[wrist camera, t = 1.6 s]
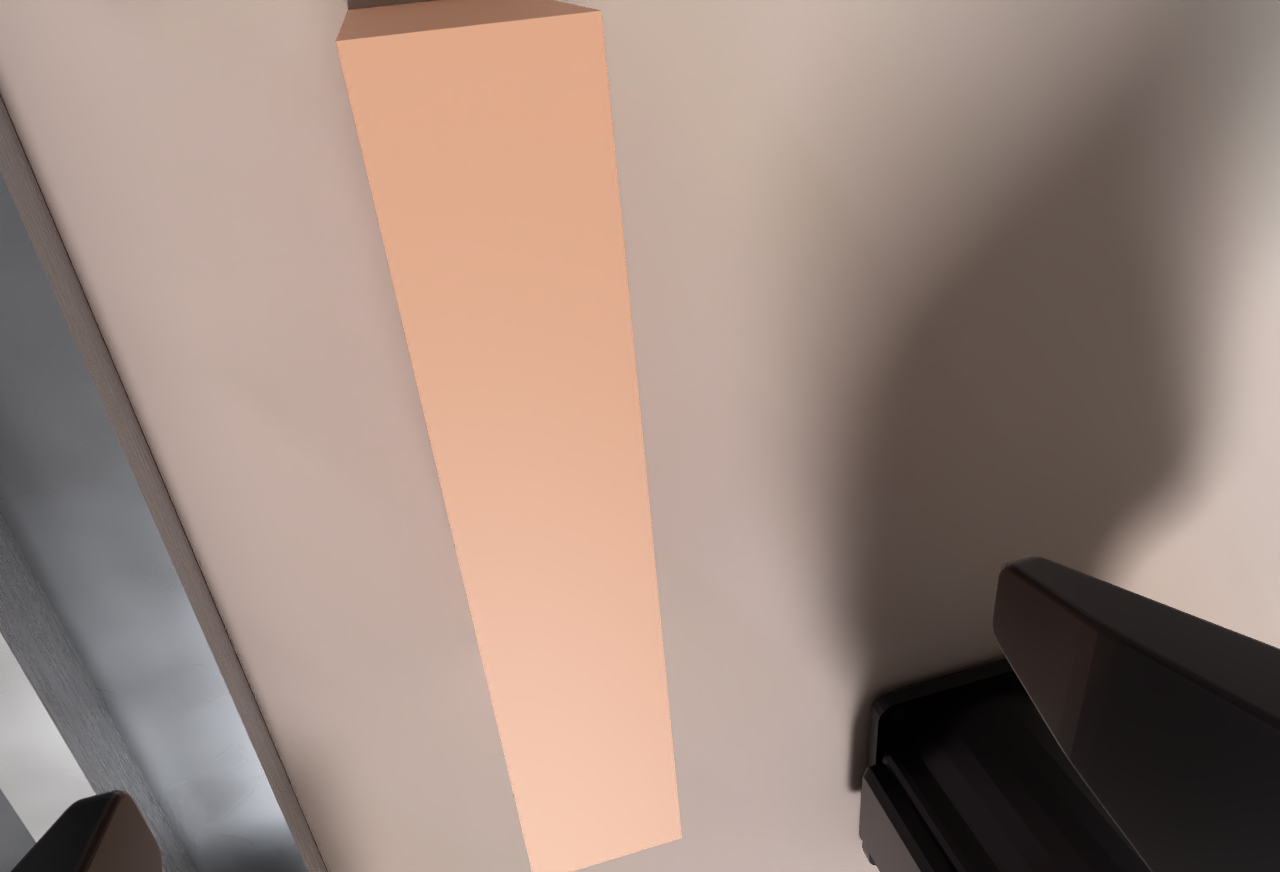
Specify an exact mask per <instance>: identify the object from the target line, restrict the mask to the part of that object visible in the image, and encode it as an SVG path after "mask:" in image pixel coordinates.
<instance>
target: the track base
mask: <svg viewBox="0 0 1280 872" xmlns="http://www.w3.org/2000/svg"><path fill="white" fill-rule="evenodd" d="M114 790H124V791H126V792H128V793H129V794H130V795H131V796H132V797H133V799H134V800H135V802H136V804H137V806H138V808H139V809H140V811H141V813H142V815H143V817H144V818H145V820H146V822H147V824H148V826H149V827H150V829H151V831H152V833H153V835H154V836H155V838H156V840H157V842H158V844H159V847H160V850H161V855H162V864H163V872H327V870H326V868H325V865H324V863H323V861H322V858H321V856H320V853H319V851H318V849H317V846H316V844H315V842H314V839H313V837H312V834H311V832H310V830H309V827H308V825H307V823H306V820H305V818H304V816H303V813H302V811H301V808H300V806H299V804H298V801H297V799H296V797H295V794H294V792H293V789H292V787H291V785H290V782H289V780H288V778H287V775H286V773H285V770H284V768H283V766H282V763H281V761H280V759H279V756H278V754H277V751H276V749H275V747H274V744H273V742H272V740H271V737H270V735H269V732H268V730H267V728H266V725H265V723H264V721H263V718H262V716H261V713H260V711H259V709H258V706H257V704H256V702H255V699H254V697H253V694H252V692H251V690H250V687H249V685H248V683H247V680H246V678H245V675H244V673H243V671H242V668H241V666H240V664H239V661H238V659H237V657H236V654H235V652H234V649H233V647H232V645H231V642H230V640H229V638H228V635H227V633H226V630H225V628H224V626H223V623H222V621H221V619H220V616H219V614H218V611H217V609H216V607H215V604H214V602H213V600H212V597H211V595H210V592H209V590H208V588H207V585H206V583H205V581H204V578H203V576H202V573H201V571H200V569H199V566H198V564H197V562H196V559H195V557H194V554H193V552H192V550H191V547H190V545H189V543H188V540H187V538H186V535H185V533H184V531H183V528H182V526H181V524H180V521H179V519H178V517H177V514H176V512H175V509H174V507H173V505H172V502H171V500H170V498H169V495H168V493H167V490H166V488H165V486H164V483H163V481H162V479H161V476H160V474H159V471H158V469H157V467H156V464H155V462H154V460H153V457H152V455H151V452H150V450H149V448H148V445H147V443H146V441H145V438H144V436H143V433H142V431H141V429H140V426H139V424H138V422H137V419H136V417H135V414H134V412H133V410H132V407H131V405H130V403H129V400H128V398H127V395H126V393H125V391H124V388H123V386H122V384H121V381H120V379H119V376H118V374H117V372H116V369H115V367H114V365H113V362H112V360H111V358H110V355H109V353H108V350H107V348H106V346H105V343H104V341H103V339H102V336H101V334H100V331H99V329H98V327H97V324H96V322H95V320H94V317H93V315H92V312H91V310H90V308H89V305H88V303H87V301H86V298H85V296H84V293H83V291H82V289H81V286H80V284H79V282H78V279H77V277H76V274H75V272H74V270H73V267H72V265H71V263H70V260H69V258H68V255H67V253H66V251H65V248H64V246H63V244H62V241H61V239H60V236H59V234H58V232H57V229H56V227H55V225H54V222H53V220H52V217H51V215H50V213H49V210H48V208H47V206H46V203H45V201H44V199H43V196H42V194H41V191H40V189H39V187H38V184H37V182H36V180H35V177H34V175H33V172H32V170H31V168H30V165H29V163H28V161H27V158H26V156H25V153H24V151H23V149H22V146H21V144H20V142H19V139H18V137H17V134H16V132H15V130H14V127H13V125H12V123H11V120H10V118H9V115H8V113H7V111H6V108H5V106H4V104H3V101H2V99H1V96H0V872H11V871H12V869H13V868H14V867H15V866H16V865H17V864H18V863H19V862H20V861H21V859H22V858H23V857H24V856H25V855H26V854H27V853H28V852H29V850H30V849H31V848H32V847H33V846H34V845H35V844H36V843H37V842H38V840H39V839H40V838H41V837H42V836H43V835H44V834H45V833H46V831H47V830H48V829H49V828H50V827H51V826H52V825H53V824H54V823H55V821H56V820H57V819H58V818H59V817H60V816H61V815H62V814H63V812H64V811H65V810H66V809H67V808H68V807H69V806H70V805H72V804H73V803H74V802H76V801H78V800H80V799H82V798H86V797H90V796H94V795H98V794H102V793H106V792H110V791H114Z"/></svg>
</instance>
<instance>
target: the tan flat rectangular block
mask: <svg viewBox="0 0 1280 872" xmlns="http://www.w3.org/2000/svg"><path fill="white" fill-rule="evenodd" d="M336 44H337V49H338V53H339V57H340V61H341V66H342V70H343V74H344V78H345V83H346V87H347V91H348V95H349V100H350V104H351V108H352V112H353V116H354V121H355V125H356V129H357V133H358V138H359V142H360V146H361V150H362V155H363V159H364V163H365V167H366V172H367V176H368V180H369V184H370V188H371V193H372V197H373V201H374V205H375V210H376V214H377V218H378V222H379V227H380V231H381V235H382V239H383V243H384V248H385V252H386V256H387V260H388V265H389V269H390V273H391V277H392V282H393V286H394V290H395V294H396V299H397V303H398V307H399V311H400V315H401V320H402V324H403V328H404V332H405V337H406V341H407V345H408V349H409V354H410V358H411V362H412V366H413V370H414V375H415V379H416V383H417V387H418V392H419V396H420V400H421V404H422V409H423V413H424V417H425V421H426V426H427V430H428V434H429V438H430V442H431V447H432V451H433V455H434V459H435V464H436V468H437V472H438V476H439V481H440V485H441V489H442V493H443V497H444V502H445V506H446V510H447V514H448V519H449V523H450V527H451V531H452V536H453V540H454V544H455V548H456V553H457V557H458V561H459V565H460V569H461V574H462V578H463V582H464V586H465V591H466V595H467V599H468V603H469V608H470V612H471V616H472V620H473V625H474V629H475V633H476V637H477V641H478V646H479V650H480V654H481V658H482V663H483V667H484V671H485V675H486V680H487V684H488V688H489V692H490V696H491V701H492V705H493V709H494V713H495V718H496V722H497V726H498V730H499V735H500V739H501V743H502V747H503V752H504V756H505V760H506V764H507V768H508V773H509V777H510V781H511V785H512V790H513V794H514V798H515V802H516V807H517V811H518V815H519V819H520V823H521V828H522V832H523V836H524V840H525V845H526V849H527V853H528V857H529V862H530V866H531V870H532V872H572V871H575V870H579V869H582V868H585V867H588V866H592V865H595V864H598V863H602V862H605V861H608V860H611V859H615V858H618V857H621V856H625V855H628V854H631V853H635V852H638V851H641V850H644V849H648V848H651V847H654V846H658V845H661V844H664V843H667V842H671V841H674V840H677V839H681V838H682V834H681V824H680V813H679V803H678V793H677V783H676V772H675V762H674V752H673V741H672V731H671V721H670V711H669V700H668V690H667V680H666V669H665V659H664V649H663V639H662V628H661V618H660V608H659V598H658V587H657V577H656V567H655V556H654V546H653V536H652V526H651V515H650V505H649V495H648V484H647V474H646V464H645V454H644V443H643V433H642V423H641V412H640V402H639V392H638V382H637V371H636V361H635V351H634V341H633V330H632V320H631V310H630V299H629V289H628V279H627V269H626V258H625V248H624V238H623V227H622V217H621V207H620V197H619V186H618V176H617V166H616V155H615V145H614V135H613V125H612V114H611V104H610V94H609V84H608V73H607V63H606V53H605V42H604V32H603V22H602V12H601V10H596V9H591V8H586V7H582V6H577V5H572V4H567V3H562V2H558V1H553V0H435V1H425V2H416V3H407V4H398V5H389V6H379V7H370V8H361V9H352V10H348V12H347V14H346V17H345V19H344V22H343V24H342V27H341V29H340V32H339V34H338V37H337V39H336Z"/></svg>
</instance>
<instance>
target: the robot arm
mask: <svg viewBox="0 0 1280 872" xmlns="http://www.w3.org/2000/svg"><path fill="white" fill-rule="evenodd" d="M991 622H992V630H993V634H994V637H995V639H996V641H997V643H998V645H999V647H1000V648H1001V650H1002V652H1003V653H1004V655H1005V657H1006V658H1007V659H1006V660H1003V661H999V662H996V663H992V664H988V665H985V666H981V667H978V668H974V669H971V670H967V671H963V672H960V673H956V674H953V675H949V676H946V677H942V678H938V679H935V680H931V681H928V682H924V683H921V684H917V685H914V686H910V687H906V688H903V689H899V690H896V691H892V692H889V693H887V694H884V695H882V696H881V697H880V698H878V699H877V700H876V701H875V703H874V704H873V705H872V708H871V713H870V729H869V746H868V762H867V768H866V770H865V772H864V775H863V778H862V794H861V811H860V828H859V834H860V837H861V839H862V841H863V843H862V848H863V851H864V853H865V855H866V856H867V858H868V860H869V862H870V863H871V864H872V865H876V866H877V867H878V869H879V871H880V872H1280V649H1279V648H1276V647H1274V646H1271V645H1268V644H1266V643H1263V642H1261V641H1258V640H1255V639H1253V638H1250V637H1248V636H1245V635H1242V634H1240V633H1237V632H1235V631H1232V630H1229V629H1227V628H1224V627H1222V626H1219V625H1216V624H1214V623H1211V622H1209V621H1206V620H1203V619H1201V618H1198V617H1196V616H1193V615H1190V614H1188V613H1185V612H1183V611H1180V610H1177V609H1175V608H1172V607H1170V606H1167V605H1164V604H1162V603H1159V602H1157V601H1154V600H1151V599H1149V598H1146V597H1144V596H1141V595H1138V594H1136V593H1133V592H1131V591H1128V590H1125V589H1123V588H1120V587H1118V586H1115V585H1112V584H1110V583H1107V582H1105V581H1102V580H1099V579H1097V578H1094V577H1092V576H1089V575H1086V574H1084V573H1081V572H1079V571H1076V570H1074V569H1071V568H1068V567H1066V566H1063V565H1061V564H1058V563H1055V562H1053V561H1050V560H1048V559H1045V558H1042V557H1029V558H1025V559H1021V560H1017V561H1013V562H1009V563H1006V564H1005V565H1003V566H1002V567H1001V569H1000V570H999V572H998V577H997V584H996V591H995V598H994V605H993V612H992V620H991ZM11 872H163V864H162V855H161V850H160V847H159V844H158V842H157V840H156V838H155V836H154V835H153V833H152V831H151V829H150V827H149V826H148V824H147V822H146V820H145V818H144V817H143V815H142V813H141V811H140V809H139V808H138V806H137V804H136V802H135V800H134V799H133V797H132V796H131V795H130V794H129V793H128V792H126V791H124V790H114V791H110V792H106V793H102V794H98V795H94V796H90V797H86V798H82V799H80V800H78V801H76V802H74V803H73V804H72V805H70V806H69V807H68V808H67V809H66V810H65V811H64V812H63V814H62V815H61V816H60V817H59V818H58V819H57V820H56V821H55V823H54V824H53V825H52V826H51V827H50V828H49V829H48V830H47V831H46V833H45V834H44V835H43V836H42V837H41V838H40V839H39V840H38V842H37V843H36V844H35V845H34V846H33V847H32V848H31V849H30V850H29V852H28V853H27V854H26V855H25V856H24V857H23V858H22V859H21V861H20V862H19V863H18V864H17V865H16V866H15V867H14V868H13V869H12V871H11Z"/></svg>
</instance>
